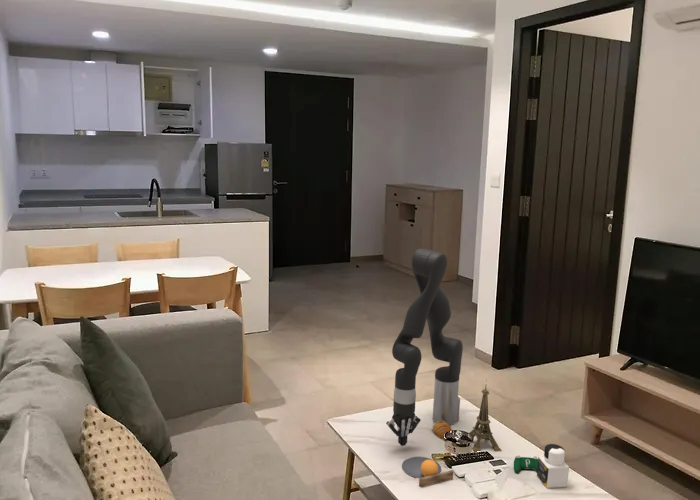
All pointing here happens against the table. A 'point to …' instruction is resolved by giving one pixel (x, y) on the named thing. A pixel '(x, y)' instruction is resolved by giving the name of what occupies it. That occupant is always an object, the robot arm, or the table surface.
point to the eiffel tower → (483, 421)
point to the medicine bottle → (553, 467)
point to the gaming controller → (525, 463)
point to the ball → (429, 468)
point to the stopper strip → (435, 478)
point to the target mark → (416, 466)
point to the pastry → (441, 429)
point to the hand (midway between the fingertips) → (402, 444)
